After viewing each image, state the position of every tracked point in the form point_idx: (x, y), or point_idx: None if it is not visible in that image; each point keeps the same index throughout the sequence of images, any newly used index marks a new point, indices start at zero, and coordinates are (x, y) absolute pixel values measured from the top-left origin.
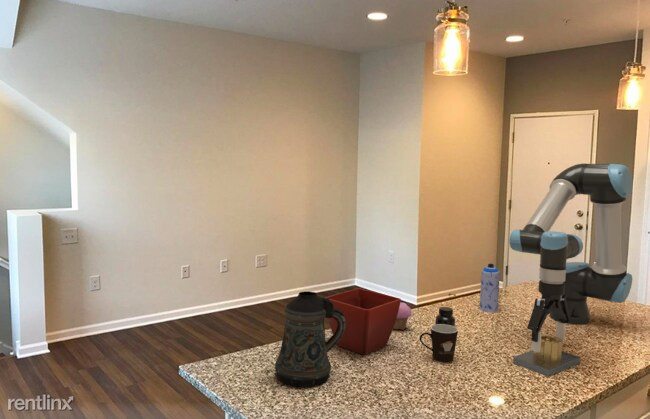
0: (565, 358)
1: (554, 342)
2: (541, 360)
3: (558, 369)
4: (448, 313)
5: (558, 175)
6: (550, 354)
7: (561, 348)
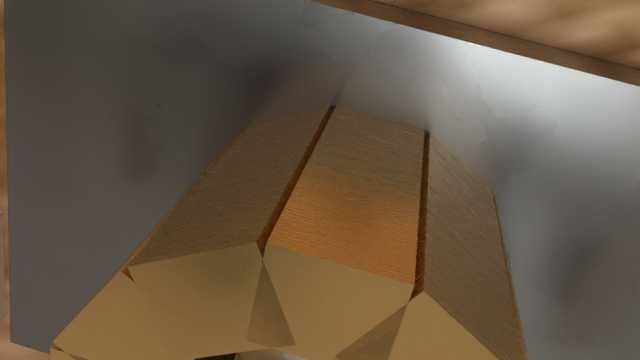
0: (215, 75)
1: (423, 355)
2: None
3: (574, 60)
4: None
5: None
6: (505, 258)
7: (304, 178)
